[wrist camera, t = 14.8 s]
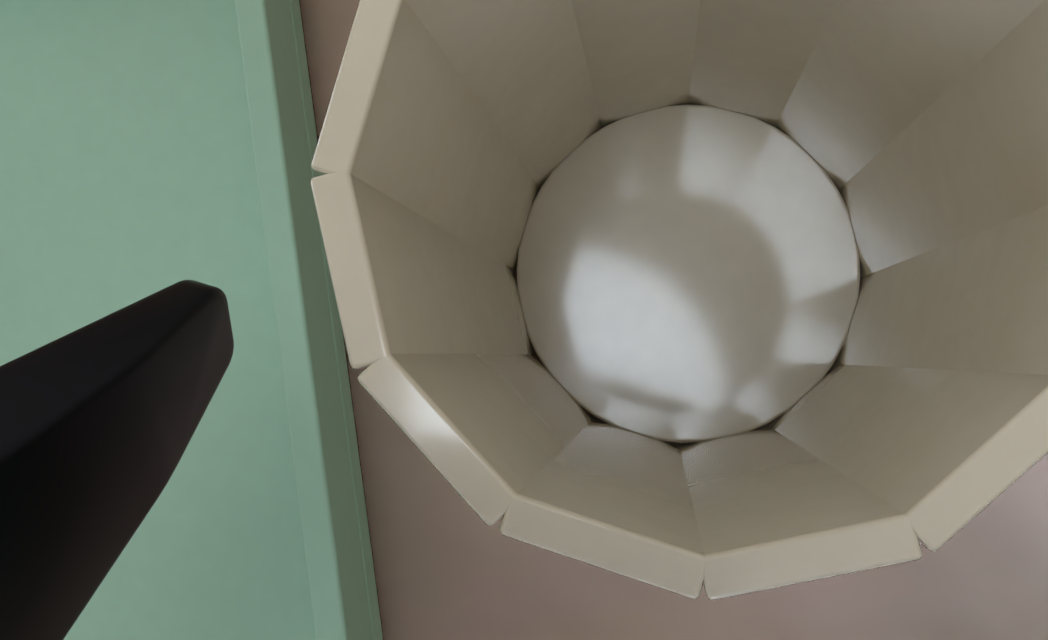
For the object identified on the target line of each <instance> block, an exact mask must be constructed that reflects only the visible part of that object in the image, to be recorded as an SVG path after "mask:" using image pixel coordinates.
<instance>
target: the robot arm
mask: <svg viewBox="0 0 1048 640" xmlns="http://www.w3.org/2000/svg"><path fill="white" fill-rule="evenodd" d="M233 349H234V340H233V333H232V327H231V321H230V314H229V308H228V302H227V297H226V295H225V293H224V292H223V291H222V290H221V289H219V288H217V287H214V286H211V285H208V284H204V283H201V282H198V281H195V280H183V281H179V282H177V283H175V284H173V285H170V286H168V287H166V288H164V289H162V290H160V291H158V292H156V293H154V294H151V295H149V296H147V297H145V298H143V299H141V300H139V301H137V302H135V303H132V304H130V305H128V306H126V307H124V308H122V309H120V310H118V311H116V312H113V313H111V314H109V315H107V316H105V317H103V318H101V319H99V320H97V321H94V322H92V323H90V324H88V325H86V326H84V327H82V328H80V329H78V330H75V331H73V332H71V333H69V334H67V335H65V336H63V337H61V338H59V339H56V340H54V341H52V342H50V343H48V344H46V345H44V346H42V347H39V348H37V349H35V350H33V351H31V352H29V353H27V354H25V355H23V356H20V357H18V358H16V359H14V360H12V361H10V362H8V363H6V364H4V365H1V366H0V640H64V638H65V637H66V635H67V634H68V632H69V631H70V629H71V628H72V626H73V625H74V623H75V622H76V620H77V619H78V617H79V616H80V614H81V613H82V611H83V610H84V608H85V607H86V605H87V604H88V602H89V601H90V599H91V598H92V596H93V595H94V593H95V592H96V590H97V589H98V587H99V586H100V584H101V583H102V581H103V580H104V578H105V577H106V575H107V574H108V572H109V571H110V569H111V568H112V566H113V565H114V563H115V562H116V560H117V559H118V557H119V556H120V554H121V553H122V551H123V550H124V548H125V547H126V545H127V544H128V542H129V541H130V539H131V538H132V536H133V535H134V533H135V532H136V530H137V529H138V527H139V526H140V524H141V523H142V521H143V520H144V518H145V517H146V515H147V514H148V512H149V511H150V509H151V508H152V506H153V505H154V503H155V502H156V500H157V499H158V497H159V496H160V494H161V492H162V491H163V489H164V488H165V486H166V485H167V483H168V481H169V479H170V478H171V476H172V474H173V472H174V470H175V469H176V467H177V465H178V463H179V461H180V459H181V457H182V455H183V453H184V451H185V449H186V448H187V446H188V444H189V442H190V440H191V438H192V436H193V434H194V432H195V430H196V428H197V426H198V424H199V422H200V420H201V418H202V416H203V415H204V413H205V411H206V409H207V407H208V405H209V403H210V401H211V399H212V397H213V395H214V393H215V391H216V389H217V387H218V385H219V383H220V381H221V380H222V378H223V376H224V374H225V372H226V370H227V368H228V366H229V364H230V361H231V358H232V355H233Z"/></svg>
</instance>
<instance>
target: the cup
mask: <svg viewBox="0 0 1048 640" xmlns="http://www.w3.org/2000/svg"><path fill="white" fill-rule="evenodd" d="M311 168H312V169H313V170H314V171H316V172H318V173H320V174H322V175H320V176H316V177H314V178H312V179H311V188H312V192H313V197H314V202H315V206H316V211H317V215H318V220H319V224H320V229H321V234H322V238H323V243H324V247H325V252H326V256H327V261H328V266H329V270H330V275H331V279H332V284H333V288H334V293H335V298H336V302H337V307H338V311H339V316H340V320H341V325H342V330H343V334H344V339H345V343H346V348H347V352H348V357H349V361H350V365H351V367H352V368H355V369H364V368H366V369H365V370H364V371H363V372H362V373H361V374H360V375H359V377H358V381H359V383H360V384H361V385H362V386H363V387H364V388H365V389H366V391H367V392H368V393H369V394H370V395H371V396H372V397H373V398H374V400H375V401H376V402H377V403H378V404H379V405H380V406H381V407H382V408H383V410H384V411H385V412H386V413H387V414H388V415H389V416H390V417H391V419H392V420H393V421H394V422H395V423H396V424H397V425H398V426H399V427H400V429H401V430H402V431H403V432H404V433H405V434H406V435H407V436H408V438H409V439H410V440H411V441H412V442H413V443H414V444H415V445H416V446H417V448H418V449H419V450H420V451H421V452H422V453H423V454H424V455H425V457H426V458H427V459H428V460H429V461H430V462H431V463H432V464H433V465H434V467H435V468H436V469H437V470H438V471H439V472H440V473H441V474H442V476H443V477H444V478H445V479H446V480H447V481H448V482H449V483H450V484H451V486H452V487H453V488H454V489H455V490H456V491H457V492H458V493H459V494H460V496H461V497H462V498H463V499H464V500H465V501H466V502H467V503H468V505H469V506H470V507H471V508H472V509H473V510H474V511H475V512H476V513H477V515H478V516H479V517H480V518H481V519H482V520H483V521H484V522H485V524H487V525H489V526H492V525H494V524H495V523H496V522H497V521H498V520H499V519H500V518H502V517H503V518H502V522H501V525H500V533H501V534H502V535H503V536H506V537H509V538H512V539H515V540H518V541H521V542H524V543H527V544H530V545H533V546H536V547H539V548H542V549H545V550H548V551H551V552H554V553H557V554H560V555H563V556H566V557H569V558H572V559H575V560H578V561H581V562H584V563H587V564H590V565H593V566H596V567H599V568H602V569H605V570H608V571H611V572H614V573H617V574H620V575H623V576H626V577H629V578H632V579H634V580H637V581H640V582H643V583H646V584H649V585H652V586H655V587H658V588H661V589H664V590H667V591H670V592H673V593H676V594H679V595H682V596H685V597H688V598H691V599H697V597H698V596H699V595H700V592H701V588H702V585H703V584H704V588H705V592H706V596H707V597H708V599H710V600H717V599H722V598H728V597H733V596H738V595H743V594H748V593H753V592H758V591H763V590H768V589H773V588H778V587H783V586H788V585H793V584H798V583H804V582H809V581H814V580H819V579H824V578H829V577H834V576H839V575H844V574H849V573H854V572H859V571H864V570H869V569H875V568H880V567H885V566H890V565H895V564H900V563H905V562H910V561H915V560H918V559H920V558H921V557H922V551H921V547H920V544H921V545H923V546H924V547H926V548H927V549H928V550H930V551H933V552H934V551H937V550H938V549H940V548H941V547H942V546H943V545H944V544H945V543H946V542H947V541H949V540H950V539H951V538H952V537H953V536H954V535H955V534H956V533H958V532H959V531H960V530H961V529H962V528H963V527H964V526H966V525H967V524H968V523H969V522H970V521H971V520H972V519H973V518H975V517H976V516H977V515H978V514H979V513H980V512H981V511H982V510H984V509H985V508H986V507H987V506H988V505H989V504H990V503H991V502H993V501H994V500H995V499H996V498H997V497H998V496H999V495H1000V494H1002V493H1003V492H1004V491H1005V490H1006V489H1007V488H1008V487H1010V486H1011V485H1012V484H1013V483H1014V482H1015V481H1016V480H1017V479H1019V478H1020V477H1021V476H1022V475H1023V474H1024V473H1025V472H1026V471H1028V470H1029V469H1030V468H1031V467H1032V466H1033V465H1034V464H1035V463H1037V462H1038V461H1039V460H1040V459H1041V458H1042V457H1043V456H1045V455H1046V454H1047V453H1048V0H360V2H359V5H358V9H357V12H356V15H355V19H354V22H353V26H352V29H351V32H350V36H349V39H348V42H347V46H346V49H345V52H344V56H343V59H342V63H341V66H340V69H339V73H338V76H337V79H336V83H335V86H334V89H333V93H332V96H331V100H330V103H329V106H328V110H327V113H326V116H325V120H324V123H323V126H322V130H321V133H320V136H319V140H318V143H317V147H316V150H315V153H314V157H313V160H312V163H311ZM536 354H537V355H536ZM594 416H595V417H597V418H598V419H597V418H595V417H594ZM766 424H767V425H766ZM677 443H682V444H677Z"/></svg>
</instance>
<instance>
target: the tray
mask: <svg viewBox="0 0 1048 640" xmlns="http://www.w3.org/2000/svg"><path fill="white" fill-rule="evenodd" d="M317 143H318V141H317V133H316V126H315V118H314V111H313V103H312V96H311V88H310V80H309V73H308V65H307V58H306V50H305V42H304V35H303V27H302V20H301V12H300V4H299V0H0V366H1V365H4V364H6V363H8V362H10V361H12V360H14V359H16V358H18V357H20V356H23V355H25V354H27V353H29V352H31V351H33V350H35V349H37V348H39V347H42V346H44V345H46V344H48V343H50V342H52V341H54V340H56V339H59V338H61V337H63V336H65V335H67V334H69V333H71V332H73V331H75V330H78V329H80V328H82V327H84V326H86V325H88V324H90V323H92V322H94V321H97V320H99V319H101V318H103V317H105V316H107V315H109V314H111V313H113V312H116V311H118V310H120V309H122V308H124V307H126V306H128V305H130V304H132V303H135V302H137V301H139V300H141V299H143V298H145V297H147V296H149V295H151V294H154V293H156V292H158V291H160V290H162V289H164V288H166V287H168V286H170V285H173V284H175V283H177V282H179V281H183V280H195V281H198V282H201V283H204V284H208V285H211V286H214V287H217V288H219V289H221V290H222V291H223V292H224V293H225V295H226V297H227V302H228V308H229V314H230V321H231V327H232V333H233V340H234V349H233V355H232V358H231V361H230V364H229V366H228V368H227V370H226V372H225V374H224V376H223V378H222V380H221V381H220V383H219V385H218V387H217V389H216V391H215V393H214V395H213V397H212V399H211V401H210V403H209V405H208V407H207V409H206V411H205V413H204V415H203V416H202V418H201V420H200V422H199V424H198V426H197V428H196V430H195V432H194V434H193V436H192V438H191V440H190V442H189V444H188V446H187V448H186V449H185V451H184V453H183V455H182V457H181V459H180V461H179V463H178V465H177V467H176V469H175V470H174V472H173V474H172V476H171V478H170V479H169V481H168V483H167V485H166V486H165V488H164V489H163V491H162V492H161V494H160V496H159V497H158V499H157V500H156V502H155V503H154V505H153V506H152V508H151V509H150V511H149V512H148V514H147V515H146V517H145V518H144V520H143V521H142V523H141V524H140V526H139V527H138V529H137V530H136V532H135V533H134V535H133V536H132V538H131V539H130V541H129V542H128V544H127V545H126V547H125V548H124V550H123V551H122V553H121V554H120V556H119V557H118V559H117V560H116V562H115V563H114V565H113V566H112V568H111V569H110V571H109V572H108V574H107V575H106V577H105V578H104V580H103V581H102V583H101V584H100V586H99V587H98V589H97V590H96V592H95V593H94V595H93V596H92V598H91V599H90V601H89V602H88V604H87V605H86V607H85V608H84V610H83V611H82V613H81V614H80V616H79V617H78V619H77V620H76V622H75V623H74V625H73V626H72V628H71V629H70V631H69V632H68V634H67V635H66V637H65V638H64V640H383V635H382V627H381V619H380V612H379V604H378V597H377V589H376V581H375V574H374V566H373V559H372V551H371V543H370V536H369V528H368V521H367V513H366V506H365V498H364V490H363V483H362V475H361V468H360V460H359V452H358V445H357V437H356V430H355V422H354V414H353V407H352V399H351V392H350V384H349V376H348V369H347V361H346V354H345V346H344V338H343V331H342V325H341V320H340V316H339V311H338V307H337V302H336V298H335V293H334V288H333V284H332V279H331V275H330V270H329V266H328V261H327V256H326V252H325V247H324V243H323V238H322V234H321V229H320V224H319V220H318V215H317V211H316V206H315V202H314V197H313V192H312V188H311V179H312V178H314V177H316V176H320V175H322V174H320V173H318V172H316V171H314V170H313V169H312V168H311V163H312V160H313V157H314V153H315V150H316V147H317Z"/></svg>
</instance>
